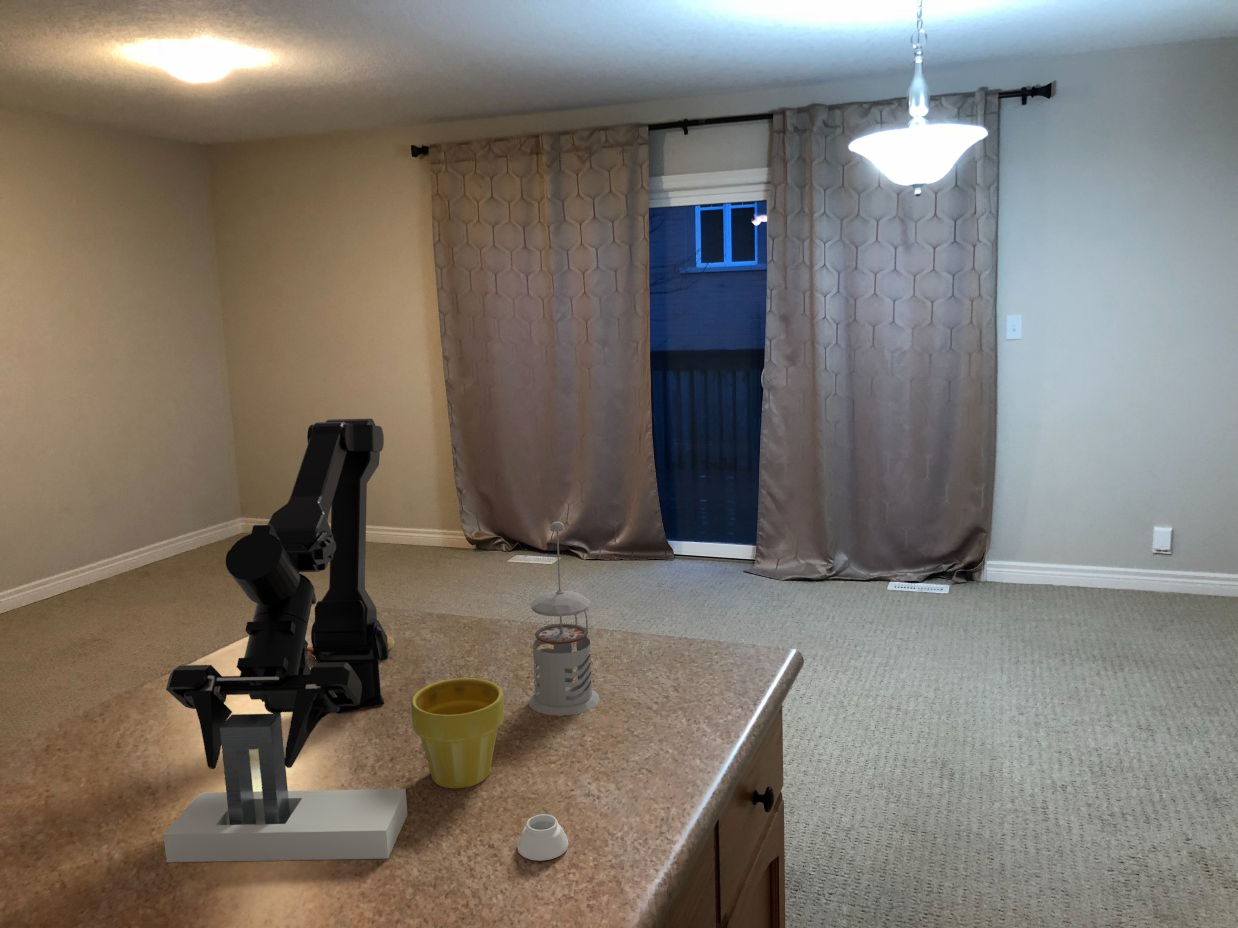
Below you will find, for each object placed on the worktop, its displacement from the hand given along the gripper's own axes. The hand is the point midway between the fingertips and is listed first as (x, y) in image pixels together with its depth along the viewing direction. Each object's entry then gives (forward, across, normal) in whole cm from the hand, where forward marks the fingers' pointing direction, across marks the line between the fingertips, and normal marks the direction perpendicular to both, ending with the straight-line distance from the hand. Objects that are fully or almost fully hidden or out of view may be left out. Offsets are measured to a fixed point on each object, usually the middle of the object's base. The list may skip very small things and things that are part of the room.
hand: (249, 767), depth 94 cm
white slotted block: (+5, -3, -7) cm, 9 cm away
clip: (+5, 0, -7) cm, 8 cm away
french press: (-18, -29, -31) cm, 46 cm away
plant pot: (-4, -18, -16) cm, 25 cm away
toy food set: (-32, +6, -45) cm, 55 cm away
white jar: (+7, -29, -5) cm, 30 cm away
